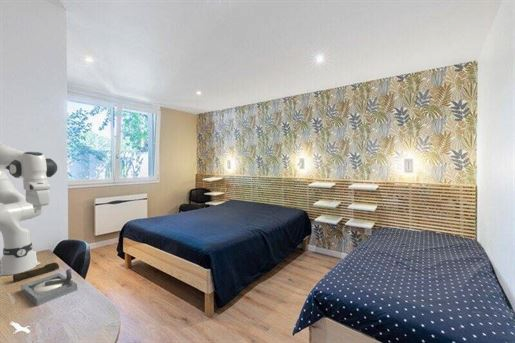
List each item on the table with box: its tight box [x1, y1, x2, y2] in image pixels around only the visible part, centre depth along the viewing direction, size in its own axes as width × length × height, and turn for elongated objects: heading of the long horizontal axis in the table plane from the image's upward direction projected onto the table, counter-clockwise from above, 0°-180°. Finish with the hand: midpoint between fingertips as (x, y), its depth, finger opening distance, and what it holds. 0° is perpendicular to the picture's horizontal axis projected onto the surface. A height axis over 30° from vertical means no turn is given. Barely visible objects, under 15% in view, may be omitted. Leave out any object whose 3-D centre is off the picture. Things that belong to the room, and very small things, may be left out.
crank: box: [34, 268, 72, 295], centre depth 119 cm, size 11×14×8 cm
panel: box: [20, 272, 78, 307], centre depth 119 cm, size 22×16×3 cm
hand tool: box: [12, 262, 60, 283], centre depth 135 cm, size 19×4×5 cm, turn 140°
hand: (37, 213), depth 121 cm, fingers closed
